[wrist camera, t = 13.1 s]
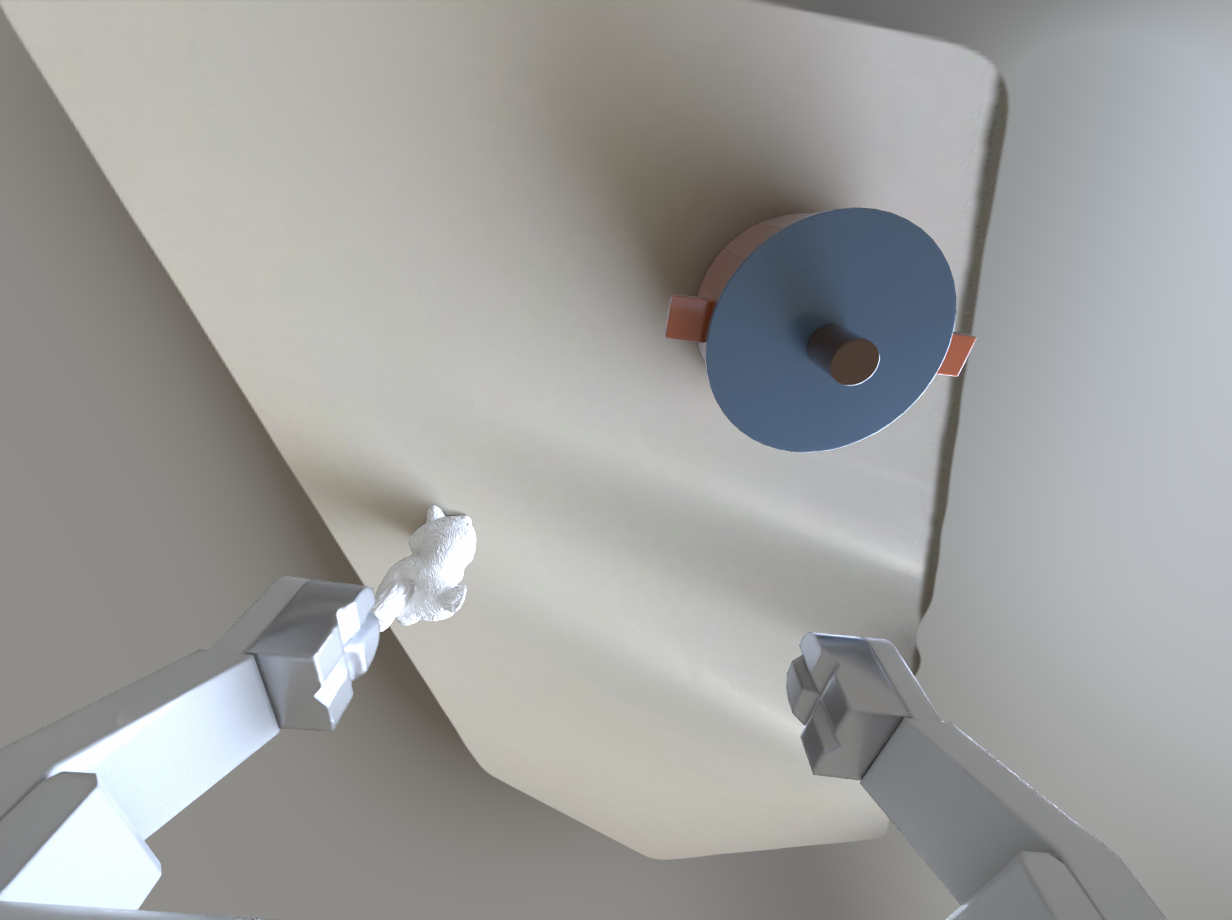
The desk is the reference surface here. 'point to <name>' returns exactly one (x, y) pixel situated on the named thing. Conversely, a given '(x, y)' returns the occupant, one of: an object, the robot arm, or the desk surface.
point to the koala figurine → (428, 572)
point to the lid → (830, 329)
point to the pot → (695, 311)
